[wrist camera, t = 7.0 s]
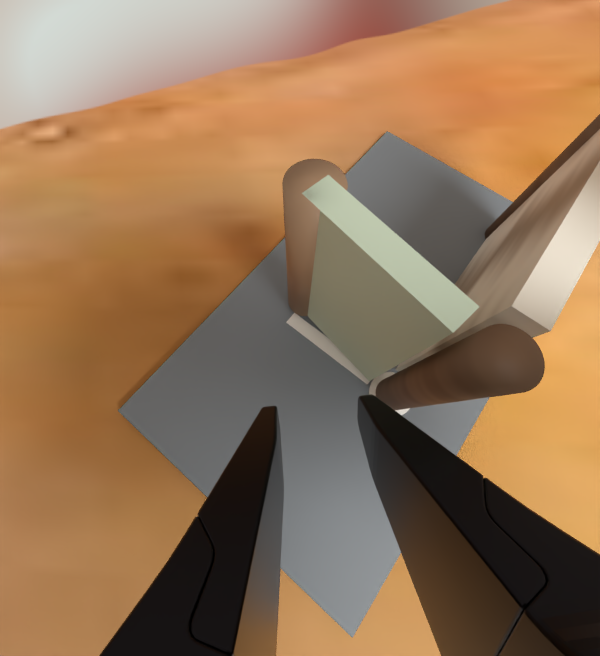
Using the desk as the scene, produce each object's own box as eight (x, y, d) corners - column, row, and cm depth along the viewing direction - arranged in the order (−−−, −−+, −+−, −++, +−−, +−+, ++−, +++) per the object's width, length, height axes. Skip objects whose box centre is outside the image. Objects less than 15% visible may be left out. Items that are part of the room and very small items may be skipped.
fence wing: (388, 362, 15) (489, 296, 7) (363, 386, 14) (442, 343, 7) (306, 279, 16) (317, 149, 8) (281, 298, 16) (269, 180, 8)
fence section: (395, 417, 14) (526, 408, 6) (368, 396, 15) (460, 362, 7) (515, 235, 18) (699, 78, 10) (491, 221, 18) (650, 58, 10)
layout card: (351, 632, 12) (353, 639, 12) (121, 411, 14) (116, 410, 14) (574, 242, 18) (580, 238, 18) (385, 135, 21) (387, 129, 20)
